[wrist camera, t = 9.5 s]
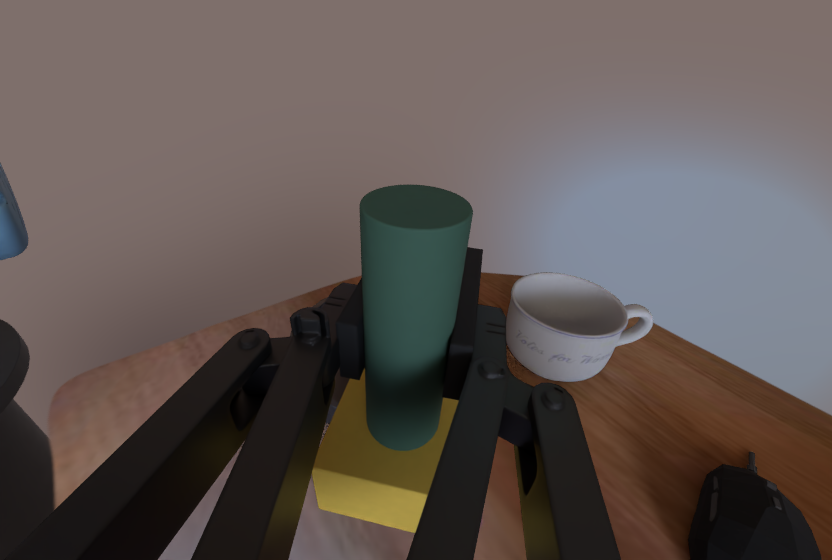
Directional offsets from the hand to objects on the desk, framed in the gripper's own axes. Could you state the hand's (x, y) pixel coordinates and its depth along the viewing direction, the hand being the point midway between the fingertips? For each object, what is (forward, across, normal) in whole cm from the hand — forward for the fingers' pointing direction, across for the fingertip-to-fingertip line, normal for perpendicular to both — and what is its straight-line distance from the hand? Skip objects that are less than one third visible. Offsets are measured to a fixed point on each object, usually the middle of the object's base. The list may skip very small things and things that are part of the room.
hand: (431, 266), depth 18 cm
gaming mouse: (+1, +24, -19) cm, 31 cm away
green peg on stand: (-5, 0, -8) cm, 10 cm away
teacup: (+15, +14, -19) cm, 28 cm away
